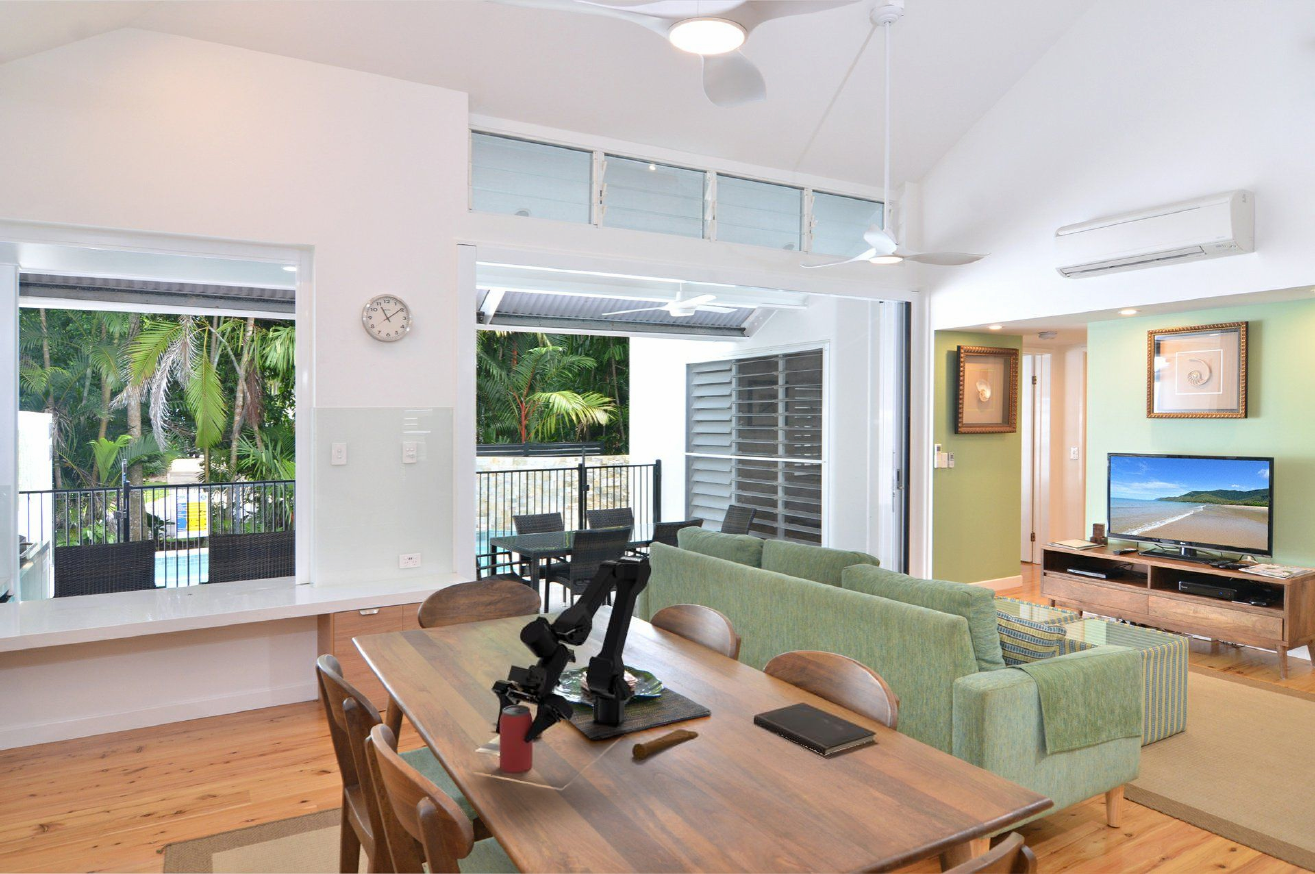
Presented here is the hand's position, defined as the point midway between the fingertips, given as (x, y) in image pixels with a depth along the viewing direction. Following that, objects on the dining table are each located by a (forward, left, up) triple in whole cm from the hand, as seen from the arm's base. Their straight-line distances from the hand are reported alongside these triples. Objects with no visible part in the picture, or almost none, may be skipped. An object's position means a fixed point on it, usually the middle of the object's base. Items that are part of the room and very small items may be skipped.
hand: (511, 737), depth 165 cm
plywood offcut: (+8, -12, -7) cm, 16 cm away
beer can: (0, -1, -7) cm, 7 cm away
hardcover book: (-52, -44, -7) cm, 69 cm away
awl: (+9, -16, -6) cm, 20 cm away
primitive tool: (-24, -24, -7) cm, 35 cm away
